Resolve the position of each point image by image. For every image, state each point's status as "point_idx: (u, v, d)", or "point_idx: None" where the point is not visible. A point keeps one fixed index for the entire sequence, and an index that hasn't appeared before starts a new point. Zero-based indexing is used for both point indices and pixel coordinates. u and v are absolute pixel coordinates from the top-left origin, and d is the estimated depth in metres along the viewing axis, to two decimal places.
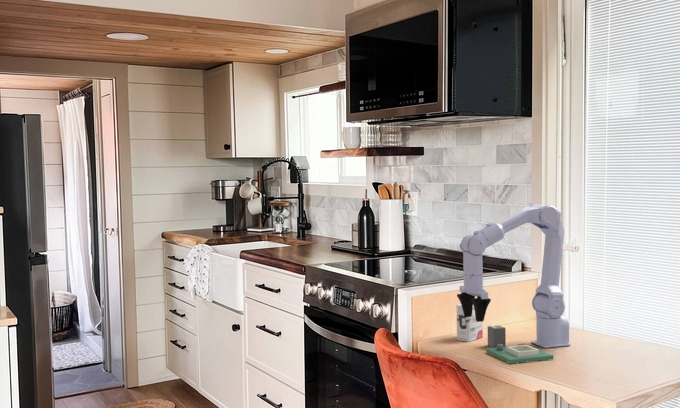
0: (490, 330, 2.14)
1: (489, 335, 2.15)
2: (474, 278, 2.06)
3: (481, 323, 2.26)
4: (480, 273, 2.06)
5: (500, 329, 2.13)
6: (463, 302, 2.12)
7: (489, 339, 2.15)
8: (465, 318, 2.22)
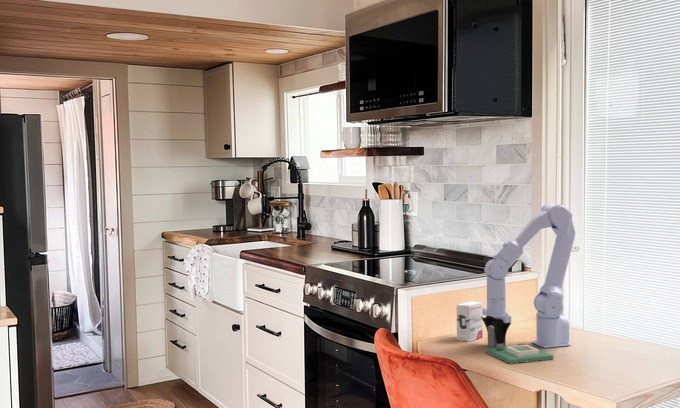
0: (490, 330, 2.14)
1: (489, 335, 2.15)
2: (497, 302, 2.12)
3: (481, 323, 2.26)
4: (502, 297, 2.12)
5: None
6: (488, 325, 2.16)
7: (489, 339, 2.15)
8: (465, 318, 2.22)
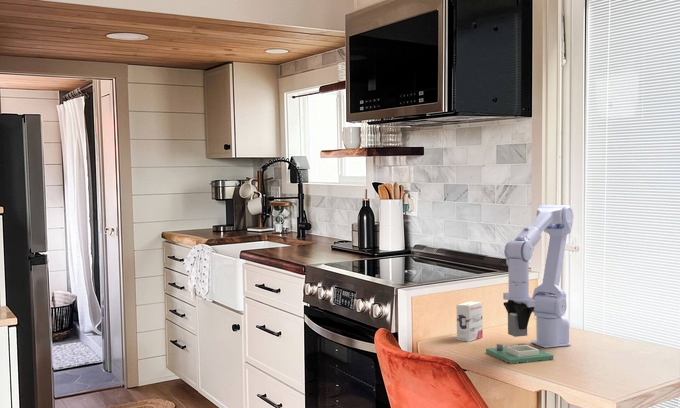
0: (510, 318, 2.01)
1: (509, 323, 2.02)
2: (520, 285, 1.99)
3: (481, 323, 2.26)
4: (528, 279, 2.01)
5: None
6: (510, 311, 2.04)
7: (509, 327, 2.02)
8: (465, 318, 2.22)
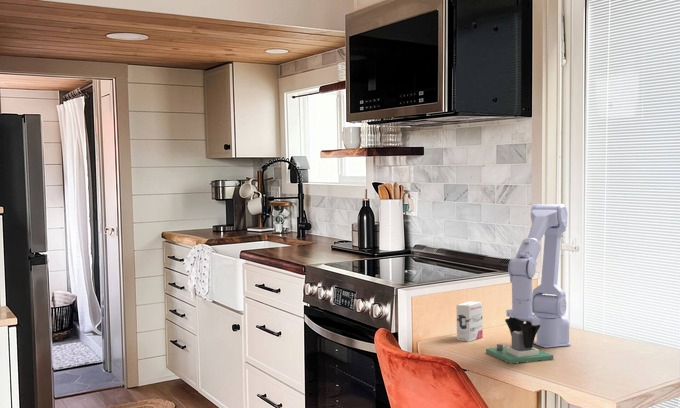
0: (514, 336, 2.00)
1: (513, 341, 2.01)
2: (524, 303, 1.97)
3: (481, 323, 2.26)
4: None
5: None
6: (512, 327, 2.03)
7: (513, 345, 2.01)
8: (465, 318, 2.22)
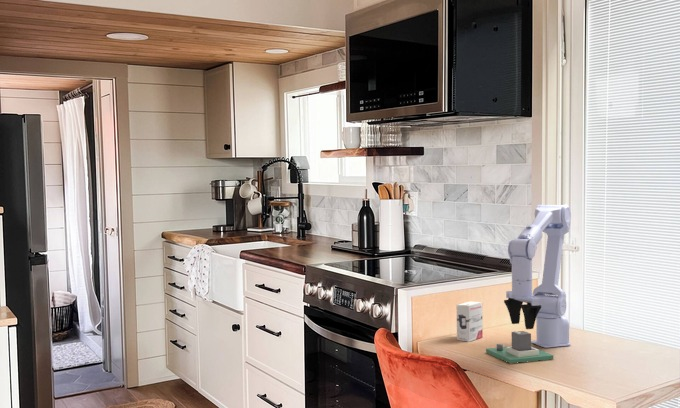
0: (514, 336, 2.00)
1: (513, 341, 2.01)
2: (524, 283, 1.97)
3: (481, 323, 2.26)
4: None
5: (525, 335, 1.98)
6: (510, 308, 2.03)
7: (513, 345, 2.01)
8: (465, 318, 2.22)
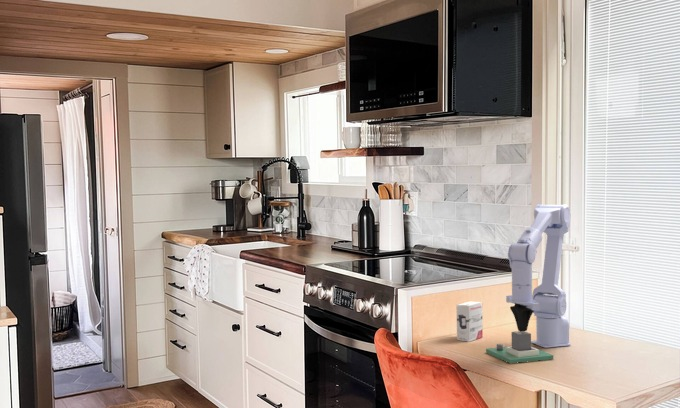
0: (514, 336, 2.00)
1: (513, 341, 2.01)
2: (524, 288, 1.97)
3: (481, 323, 2.26)
4: None
5: (525, 335, 1.98)
6: None
7: (513, 345, 2.01)
8: (465, 318, 2.22)
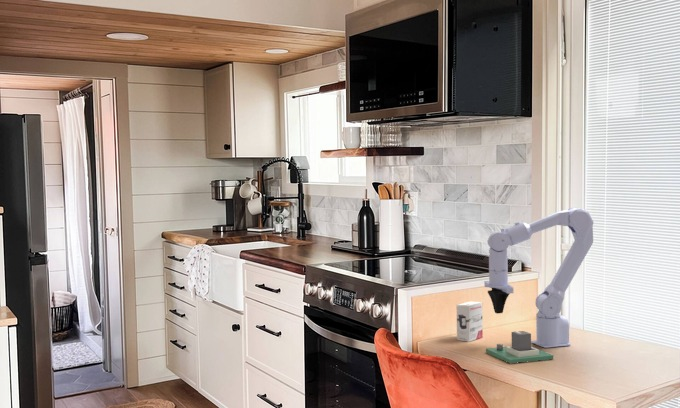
0: (514, 336, 2.00)
1: (513, 341, 2.01)
2: (499, 273, 2.14)
3: (481, 323, 2.26)
4: (503, 269, 2.14)
5: (525, 335, 1.98)
6: None
7: (513, 345, 2.01)
8: (465, 318, 2.22)
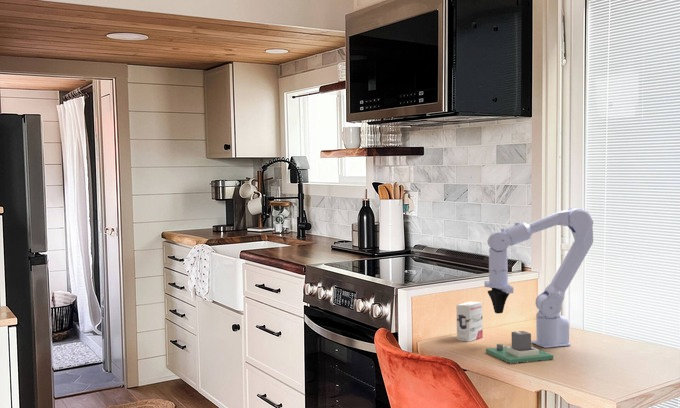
0: (514, 336, 2.00)
1: (513, 341, 2.01)
2: (499, 273, 2.14)
3: (481, 323, 2.26)
4: (503, 269, 2.14)
5: (525, 335, 1.98)
6: None
7: (513, 345, 2.01)
8: (465, 318, 2.22)
